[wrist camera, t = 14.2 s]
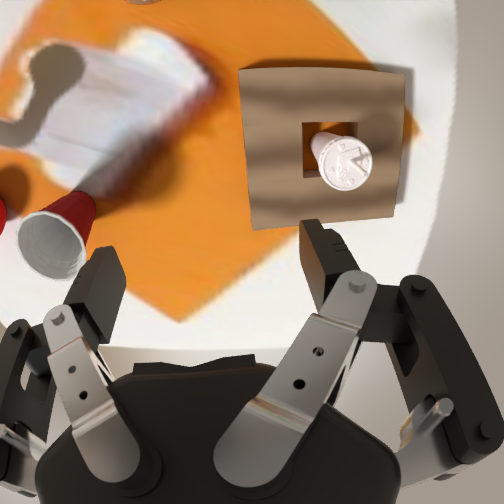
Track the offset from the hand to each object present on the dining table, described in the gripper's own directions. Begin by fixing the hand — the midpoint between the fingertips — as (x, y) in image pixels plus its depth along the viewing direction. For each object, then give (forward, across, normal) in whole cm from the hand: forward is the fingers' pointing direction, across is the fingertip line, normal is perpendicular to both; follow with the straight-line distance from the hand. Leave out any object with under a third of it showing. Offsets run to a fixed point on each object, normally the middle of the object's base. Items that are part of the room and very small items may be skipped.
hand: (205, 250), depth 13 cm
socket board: (+29, -14, +5) cm, 33 cm away
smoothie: (+30, -14, +5) cm, 33 cm away
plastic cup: (+30, +23, +9) cm, 39 cm away
